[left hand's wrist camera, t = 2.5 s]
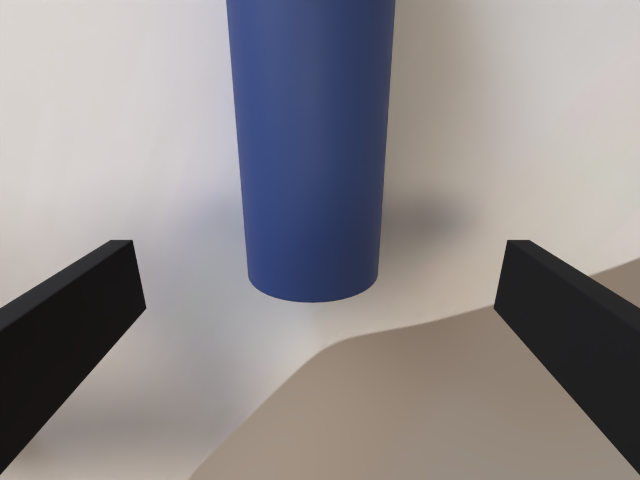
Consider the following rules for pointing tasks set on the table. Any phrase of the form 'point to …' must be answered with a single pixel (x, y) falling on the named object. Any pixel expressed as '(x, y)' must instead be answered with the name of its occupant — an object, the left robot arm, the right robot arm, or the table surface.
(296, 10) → the rod
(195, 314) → the table surface
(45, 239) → the table surface
